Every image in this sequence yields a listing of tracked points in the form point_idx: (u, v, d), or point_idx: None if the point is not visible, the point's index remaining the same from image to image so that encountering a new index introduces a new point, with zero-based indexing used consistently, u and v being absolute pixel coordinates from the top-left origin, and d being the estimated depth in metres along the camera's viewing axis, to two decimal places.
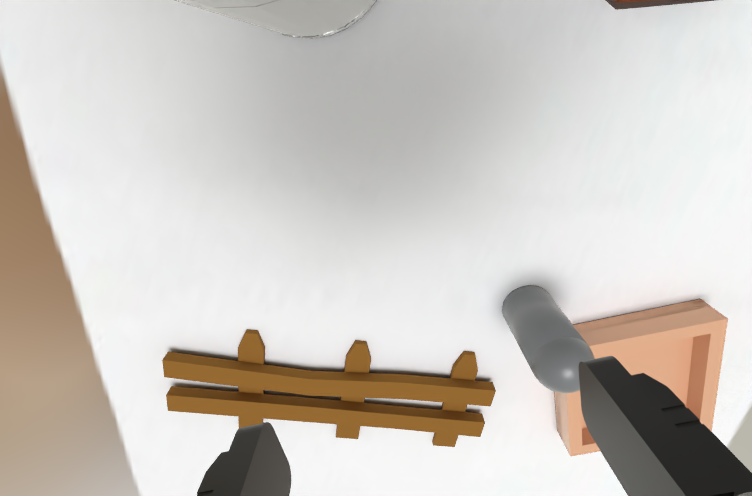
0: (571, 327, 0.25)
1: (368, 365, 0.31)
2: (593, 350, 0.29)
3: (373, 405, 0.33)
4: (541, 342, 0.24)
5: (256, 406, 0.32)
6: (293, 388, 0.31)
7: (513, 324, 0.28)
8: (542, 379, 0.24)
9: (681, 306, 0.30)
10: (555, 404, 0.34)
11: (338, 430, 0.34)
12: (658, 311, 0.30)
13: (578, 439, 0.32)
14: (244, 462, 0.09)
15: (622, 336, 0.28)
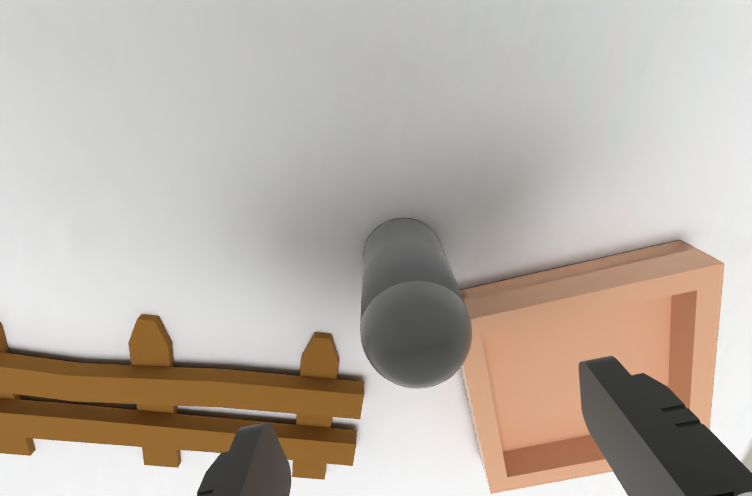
0: (437, 269, 0.14)
1: (166, 354, 0.20)
2: (503, 321, 0.17)
3: (186, 417, 0.22)
4: (373, 294, 0.13)
5: None
6: (45, 390, 0.20)
7: None
8: (371, 362, 0.13)
9: (649, 251, 0.18)
10: None
11: (145, 454, 0.23)
12: (613, 260, 0.19)
13: (499, 467, 0.21)
14: (244, 462, 0.09)
15: (550, 297, 0.17)
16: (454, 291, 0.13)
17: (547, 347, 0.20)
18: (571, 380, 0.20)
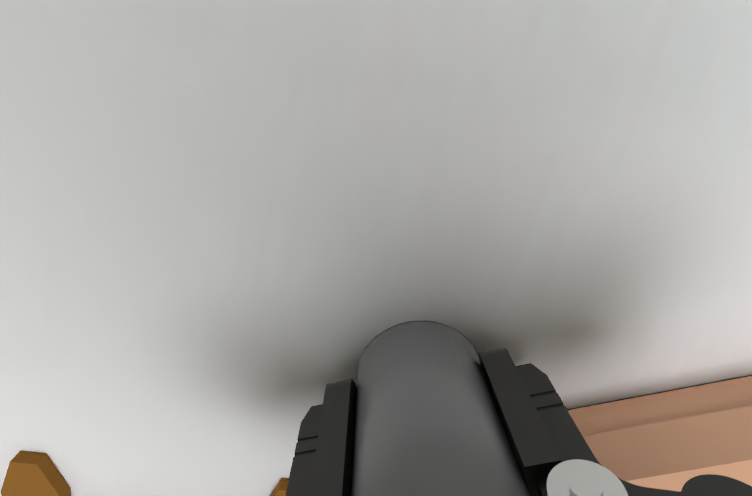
0: (497, 480, 0.07)
1: None
2: None
3: None
4: None
5: None
6: None
7: (355, 434, 0.10)
8: None
9: None
10: None
11: None
12: (748, 388, 0.12)
13: None
14: (341, 410, 0.10)
15: (663, 464, 0.10)
16: None
17: None
18: None
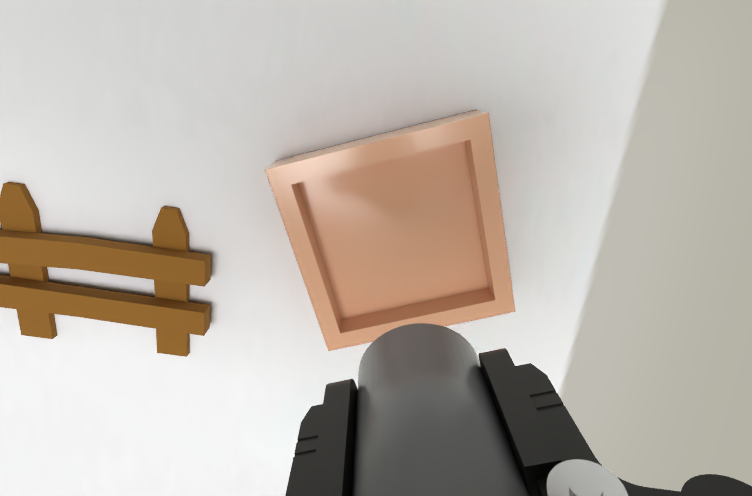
0: (498, 482, 0.07)
1: (32, 220, 0.23)
2: (307, 169, 0.20)
3: (54, 284, 0.24)
4: None
5: None
6: None
7: (355, 436, 0.10)
8: None
9: (446, 117, 0.21)
10: None
11: (21, 324, 0.26)
12: (415, 126, 0.21)
13: (331, 322, 0.23)
14: (341, 410, 0.10)
15: (348, 148, 0.20)
16: None
17: (367, 209, 0.22)
18: (394, 244, 0.23)
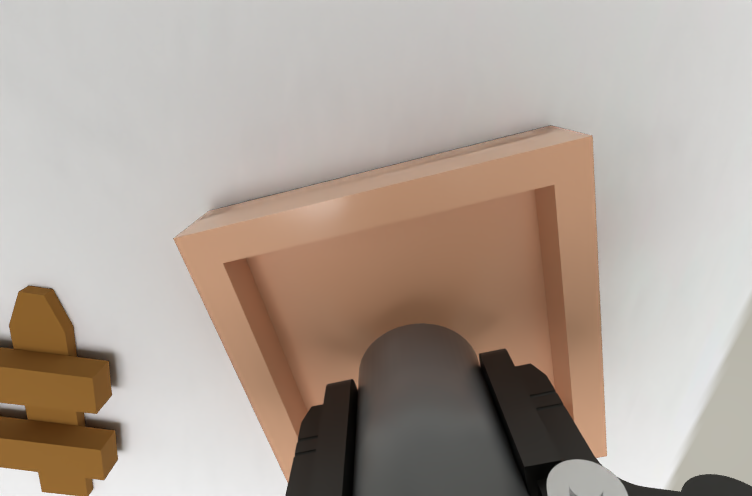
0: (498, 483, 0.07)
1: None
2: (252, 236, 0.11)
3: None
4: None
5: None
6: None
7: (355, 436, 0.10)
8: None
9: (501, 140, 0.12)
10: None
11: None
12: (446, 154, 0.12)
13: None
14: (341, 410, 0.10)
15: (325, 198, 0.11)
16: None
17: (362, 292, 0.13)
18: None
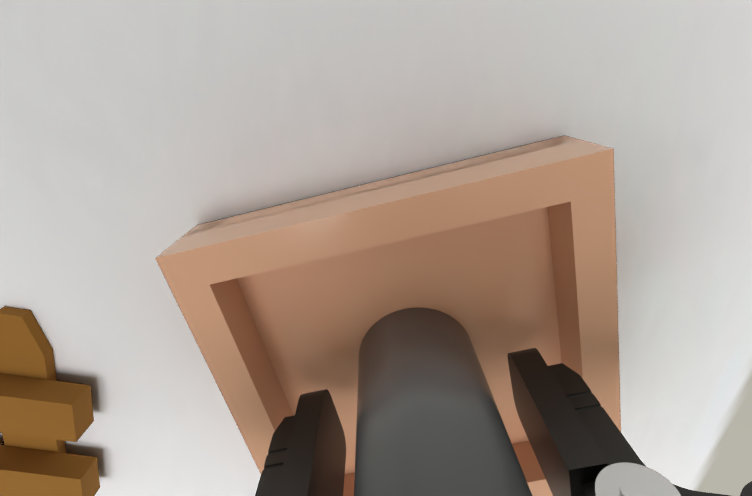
0: (487, 442, 0.08)
1: None
2: (241, 256, 0.10)
3: None
4: None
5: None
6: None
7: (357, 410, 0.10)
8: None
9: (511, 151, 0.11)
10: None
11: None
12: (452, 166, 0.11)
13: None
14: (312, 422, 0.10)
15: (321, 215, 0.10)
16: None
17: (361, 313, 0.12)
18: None
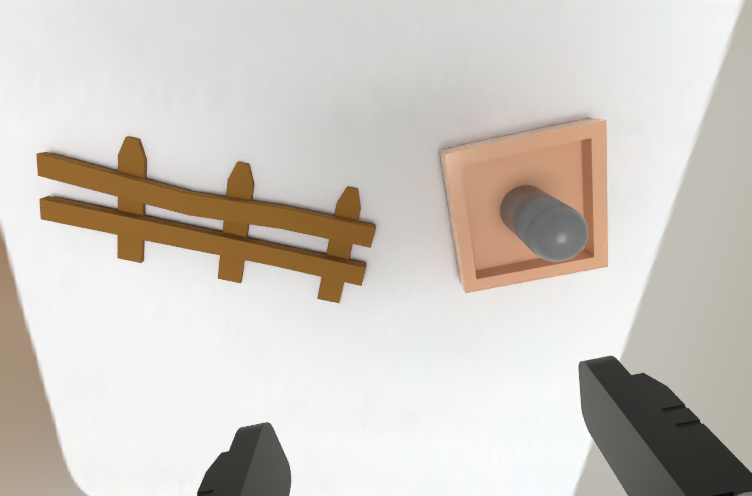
0: (565, 204, 0.26)
1: (250, 190, 0.31)
2: (474, 154, 0.28)
3: (254, 240, 0.33)
4: (536, 213, 0.25)
5: (132, 223, 0.31)
6: (170, 204, 0.31)
7: (510, 213, 0.29)
8: (537, 245, 0.25)
9: (568, 122, 0.29)
10: None
11: (220, 270, 0.34)
12: (545, 127, 0.30)
13: (471, 270, 0.31)
14: (244, 462, 0.09)
15: (504, 140, 0.28)
16: None
17: (504, 187, 0.31)
18: None
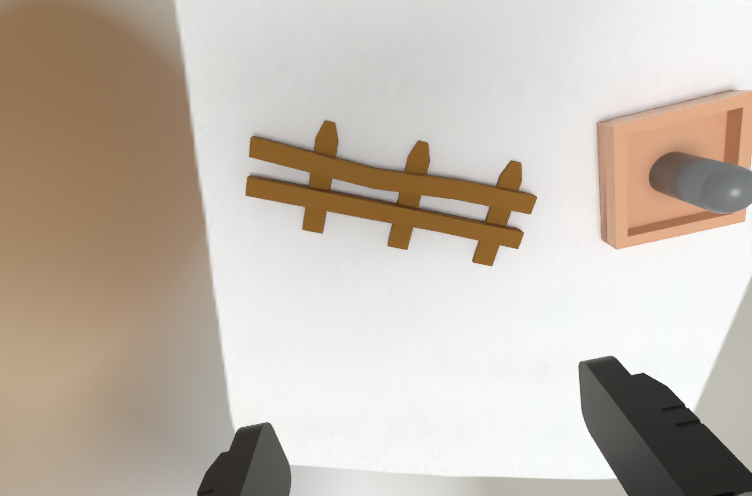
0: None
1: (427, 166, 0.36)
2: (639, 125, 0.32)
3: (426, 210, 0.37)
4: (709, 172, 0.30)
5: (324, 197, 0.36)
6: (360, 179, 0.35)
7: (669, 176, 0.33)
8: (713, 199, 0.29)
9: (715, 95, 0.34)
10: None
11: (391, 238, 0.38)
12: (694, 100, 0.34)
13: (624, 229, 0.36)
14: (244, 462, 0.09)
15: (665, 112, 0.32)
16: None
17: (655, 154, 0.35)
18: None
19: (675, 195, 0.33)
